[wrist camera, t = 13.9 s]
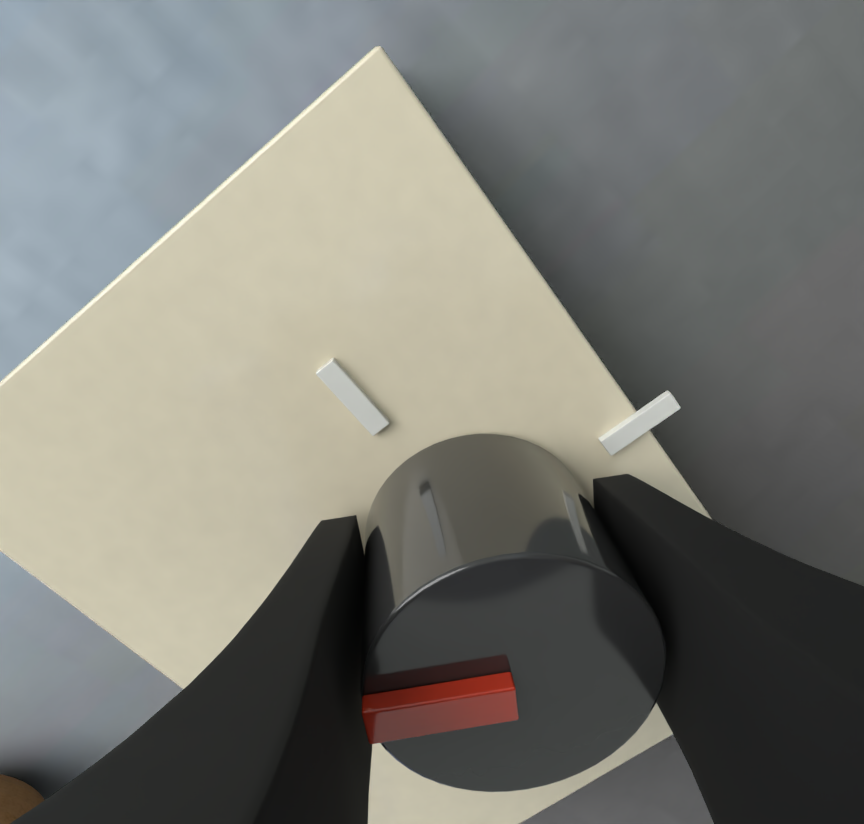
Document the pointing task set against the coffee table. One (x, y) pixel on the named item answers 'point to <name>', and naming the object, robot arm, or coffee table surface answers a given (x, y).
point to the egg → (16, 798)
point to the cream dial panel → (301, 395)
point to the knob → (500, 621)
